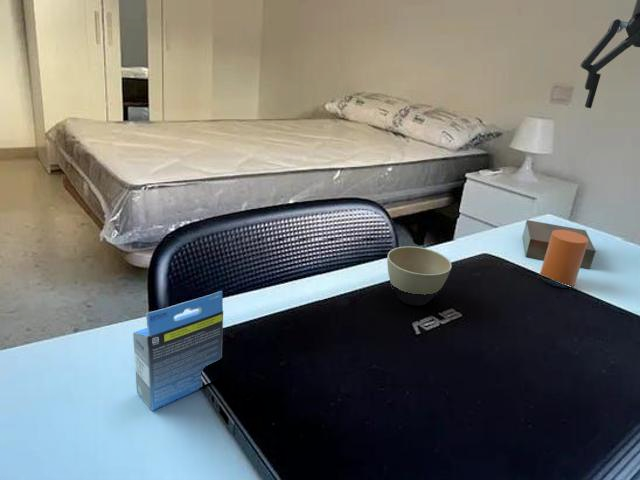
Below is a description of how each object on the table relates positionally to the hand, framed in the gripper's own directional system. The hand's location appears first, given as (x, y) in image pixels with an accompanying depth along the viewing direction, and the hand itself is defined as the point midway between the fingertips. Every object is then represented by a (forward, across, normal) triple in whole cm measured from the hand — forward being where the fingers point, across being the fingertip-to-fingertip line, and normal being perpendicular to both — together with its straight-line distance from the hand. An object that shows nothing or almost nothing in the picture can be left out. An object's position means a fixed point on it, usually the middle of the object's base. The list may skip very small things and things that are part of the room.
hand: (624, 111), depth 100 cm
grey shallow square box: (+29, +7, +9) cm, 31 cm away
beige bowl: (+29, +32, +43) cm, 61 cm away
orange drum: (+29, +8, +24) cm, 38 cm away
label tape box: (+29, +54, +76) cm, 98 cm away
